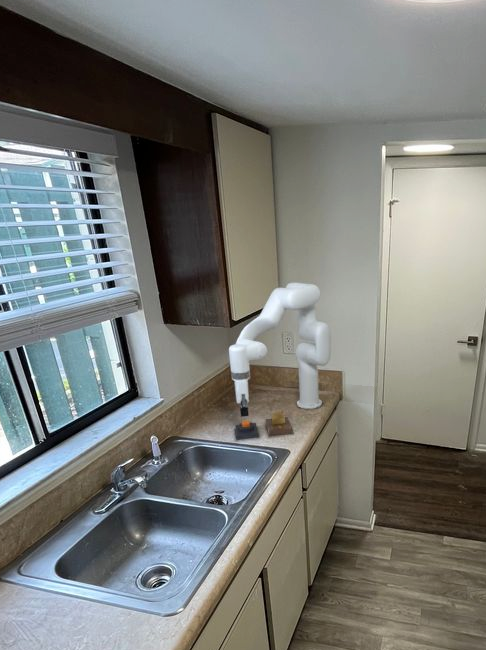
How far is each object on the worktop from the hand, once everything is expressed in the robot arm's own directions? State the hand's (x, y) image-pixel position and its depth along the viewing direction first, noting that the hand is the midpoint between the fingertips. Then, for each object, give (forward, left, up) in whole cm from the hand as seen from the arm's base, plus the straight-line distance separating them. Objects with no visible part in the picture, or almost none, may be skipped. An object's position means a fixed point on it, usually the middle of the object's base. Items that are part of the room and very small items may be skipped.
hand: (244, 415), depth 186 cm
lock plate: (0, +14, -9) cm, 17 cm away
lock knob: (0, +14, -6) cm, 15 cm away
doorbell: (0, 0, -9) cm, 9 cm away
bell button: (0, 0, -5) cm, 5 cm away
